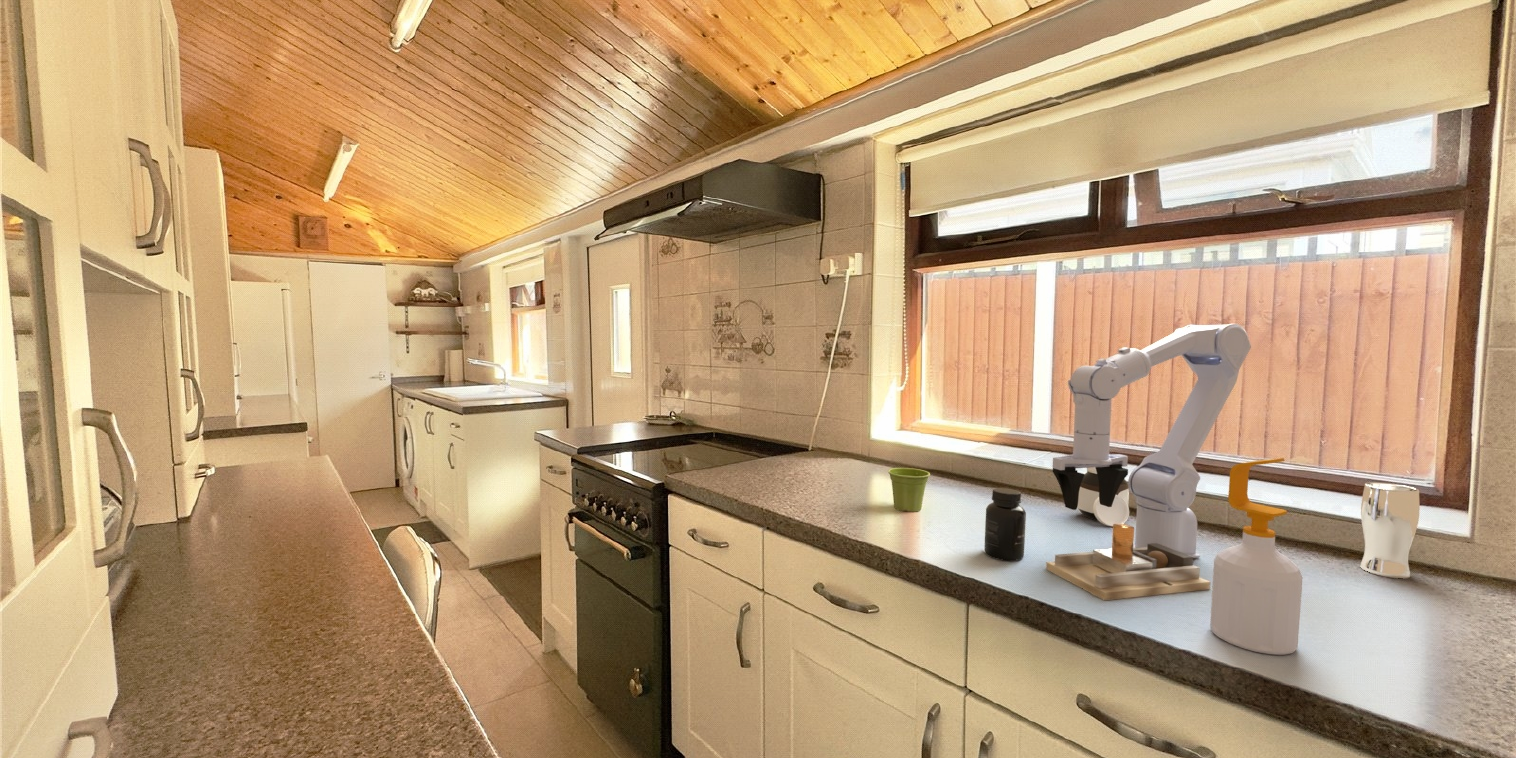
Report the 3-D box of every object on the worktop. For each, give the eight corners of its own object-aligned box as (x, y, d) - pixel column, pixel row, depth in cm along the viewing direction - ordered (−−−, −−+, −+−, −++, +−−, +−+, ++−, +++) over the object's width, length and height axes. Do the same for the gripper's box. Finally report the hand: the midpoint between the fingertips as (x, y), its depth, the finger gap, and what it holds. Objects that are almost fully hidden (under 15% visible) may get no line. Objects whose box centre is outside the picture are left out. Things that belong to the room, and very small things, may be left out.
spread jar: (1103, 510, 143) (1105, 461, 142) (1149, 524, 133) (1152, 471, 132) (1064, 515, 139) (1066, 464, 138) (1108, 530, 128) (1110, 475, 128)
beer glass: (1401, 568, 108) (1408, 484, 107) (1423, 582, 102) (1430, 493, 101) (1349, 562, 111) (1355, 480, 110) (1367, 575, 105) (1374, 488, 104)
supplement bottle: (1028, 563, 109) (1030, 496, 108) (987, 560, 110) (989, 494, 110) (1019, 550, 116) (1022, 487, 115) (981, 547, 117) (983, 485, 116)
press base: (1141, 560, 111) (1143, 537, 111) (1209, 589, 98) (1211, 563, 98) (1046, 568, 106) (1047, 545, 106) (1104, 600, 94) (1105, 573, 94)
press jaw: (1121, 561, 106) (1123, 519, 106) (1155, 576, 99) (1158, 531, 99) (1092, 563, 105) (1094, 521, 104) (1125, 579, 98) (1128, 534, 98)
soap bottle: (1276, 663, 76) (1289, 466, 74) (1195, 631, 84) (1206, 453, 82) (1310, 647, 80) (1324, 460, 78) (1231, 618, 88) (1241, 448, 86)
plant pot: (907, 501, 150) (908, 466, 149) (937, 510, 142) (938, 473, 141) (878, 506, 145) (879, 470, 144) (907, 516, 137) (909, 478, 136)
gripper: (1074, 437, 105) (1071, 515, 106) (1143, 434, 109) (1139, 510, 110) (1045, 431, 112) (1042, 504, 113) (1111, 428, 115) (1107, 500, 116)
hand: (1088, 506), depth 112 cm, fingers open, 7 cm apart
